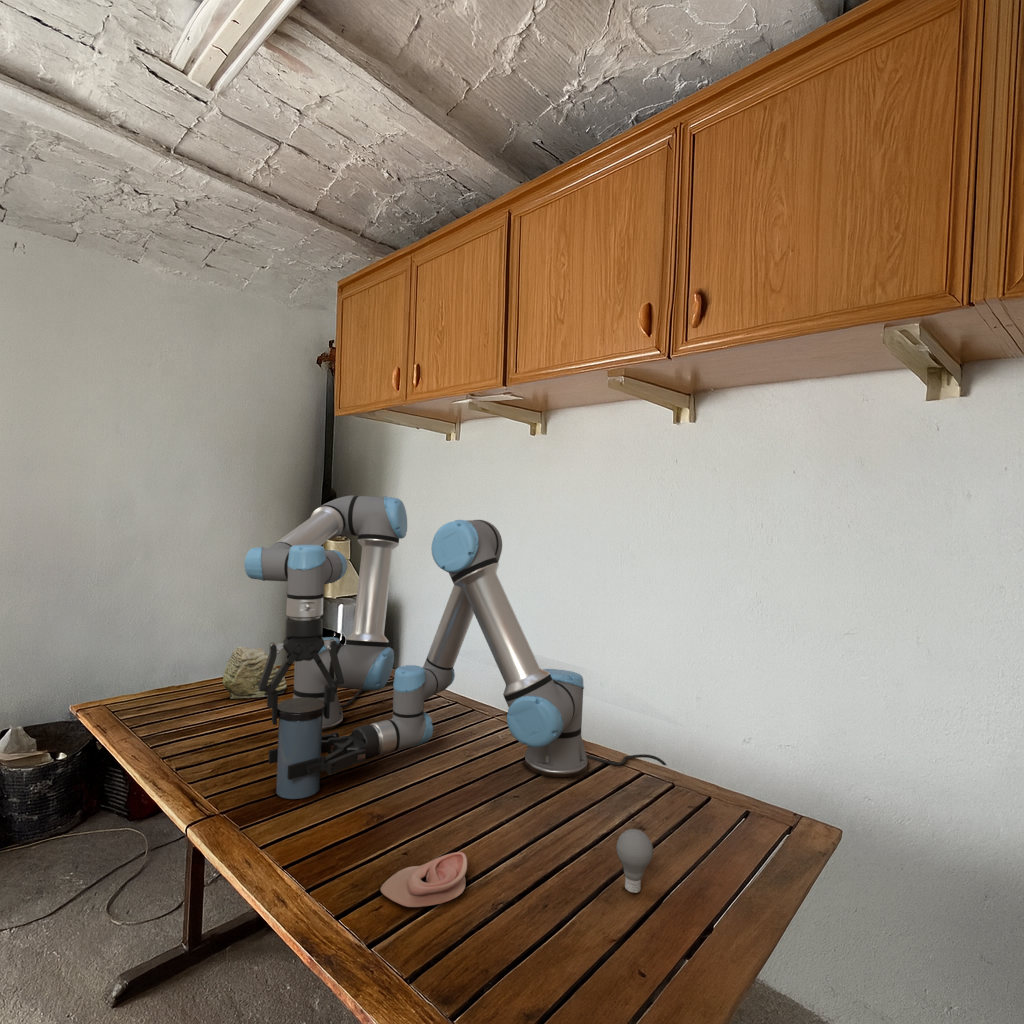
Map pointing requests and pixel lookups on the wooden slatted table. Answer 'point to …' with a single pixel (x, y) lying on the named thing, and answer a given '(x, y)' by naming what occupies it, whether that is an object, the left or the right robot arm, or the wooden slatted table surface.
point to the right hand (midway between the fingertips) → (278, 764)
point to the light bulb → (634, 857)
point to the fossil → (248, 673)
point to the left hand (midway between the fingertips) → (300, 719)
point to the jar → (298, 756)
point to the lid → (301, 708)
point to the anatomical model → (428, 882)
